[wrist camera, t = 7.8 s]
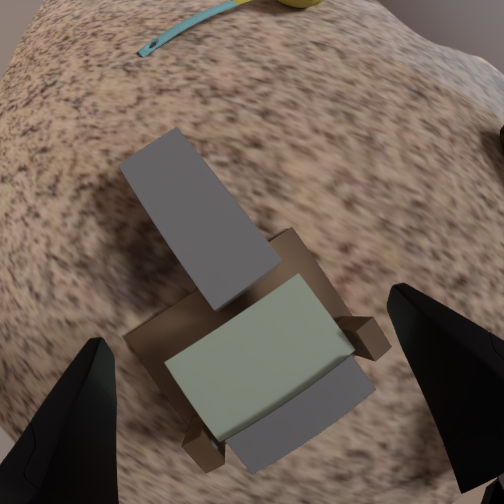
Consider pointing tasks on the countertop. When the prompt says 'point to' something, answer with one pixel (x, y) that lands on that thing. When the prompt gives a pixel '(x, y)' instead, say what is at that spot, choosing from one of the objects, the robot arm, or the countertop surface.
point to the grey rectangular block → (199, 219)
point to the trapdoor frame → (207, 320)
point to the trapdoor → (272, 375)
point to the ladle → (292, 0)
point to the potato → (502, 135)
